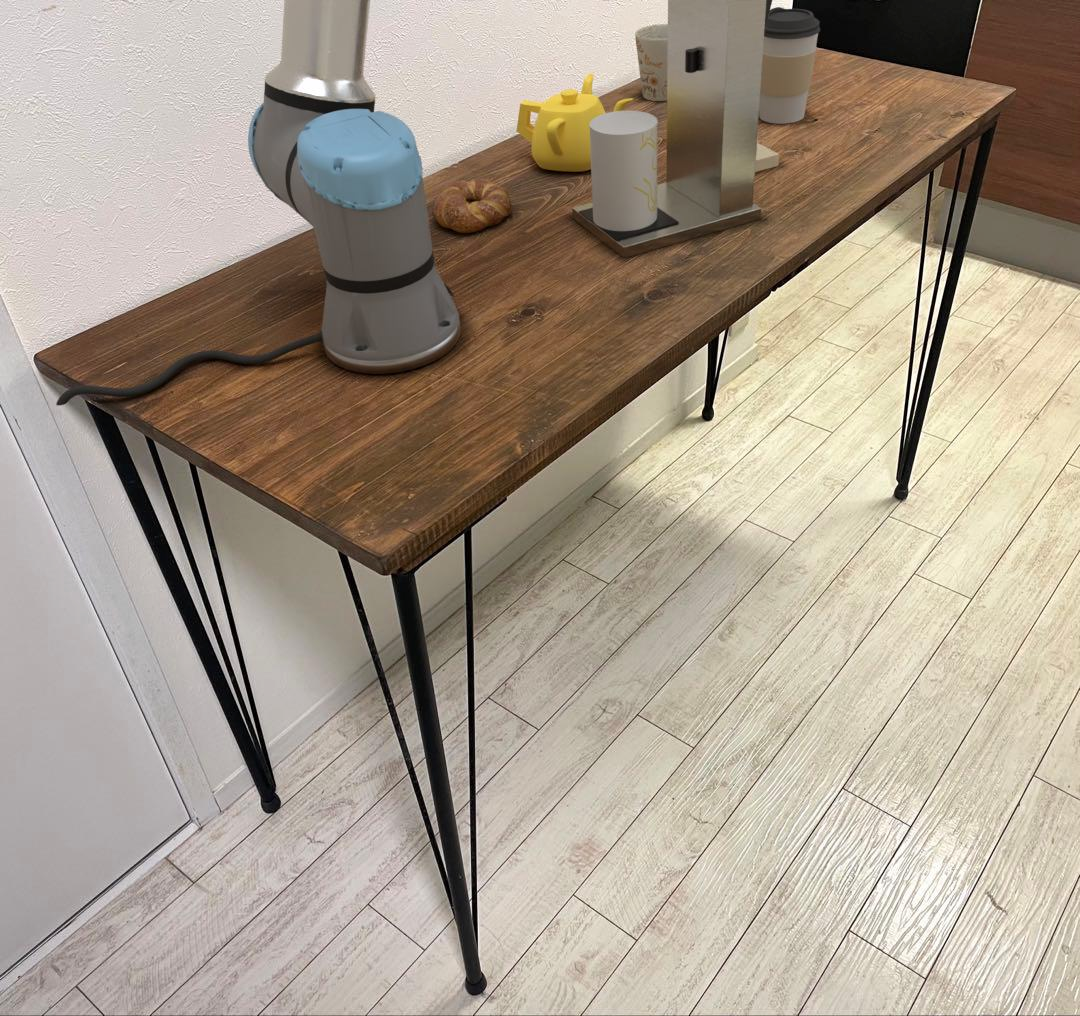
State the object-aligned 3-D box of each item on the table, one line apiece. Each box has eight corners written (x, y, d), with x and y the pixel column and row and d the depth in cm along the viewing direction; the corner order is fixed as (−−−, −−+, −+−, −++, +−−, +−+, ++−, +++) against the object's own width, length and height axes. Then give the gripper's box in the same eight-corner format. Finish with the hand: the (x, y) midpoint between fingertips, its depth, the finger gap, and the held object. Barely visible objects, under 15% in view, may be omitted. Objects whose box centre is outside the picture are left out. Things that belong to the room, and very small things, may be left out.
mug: (631, 90, 172) (631, 27, 166) (704, 82, 173) (707, 19, 166) (640, 106, 166) (640, 41, 160) (716, 98, 166) (719, 33, 160)
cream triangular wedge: (718, 182, 140) (719, 157, 138) (687, 164, 146) (687, 139, 144) (778, 165, 143) (780, 141, 141) (746, 148, 149) (747, 124, 147)
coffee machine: (623, 258, 125) (619, 0, 106) (572, 218, 135) (559, -24, 116) (760, 219, 131) (778, -32, 112) (701, 183, 141) (709, -53, 122)
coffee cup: (824, 115, 157) (835, 10, 147) (781, 130, 153) (789, 24, 144) (782, 101, 163) (790, 0, 153) (739, 116, 159) (745, 12, 150)
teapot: (635, 165, 147) (634, 94, 141) (550, 185, 144) (545, 114, 137) (594, 136, 157) (591, 69, 151) (513, 154, 154) (507, 86, 147)
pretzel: (500, 237, 132) (498, 210, 129) (420, 235, 134) (416, 208, 132) (522, 199, 141) (520, 173, 138) (447, 197, 143) (443, 171, 140)
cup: (653, 231, 126) (653, 134, 118) (588, 230, 128) (584, 134, 120) (660, 204, 132) (661, 110, 124) (598, 203, 134) (595, 110, 126)
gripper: (718, -110, 118) (709, 99, 133) (811, -125, 122) (792, 80, 137) (684, -118, 123) (679, 84, 138) (774, -132, 127) (759, 66, 142)
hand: (735, 82), depth 137 cm, fingers closed
